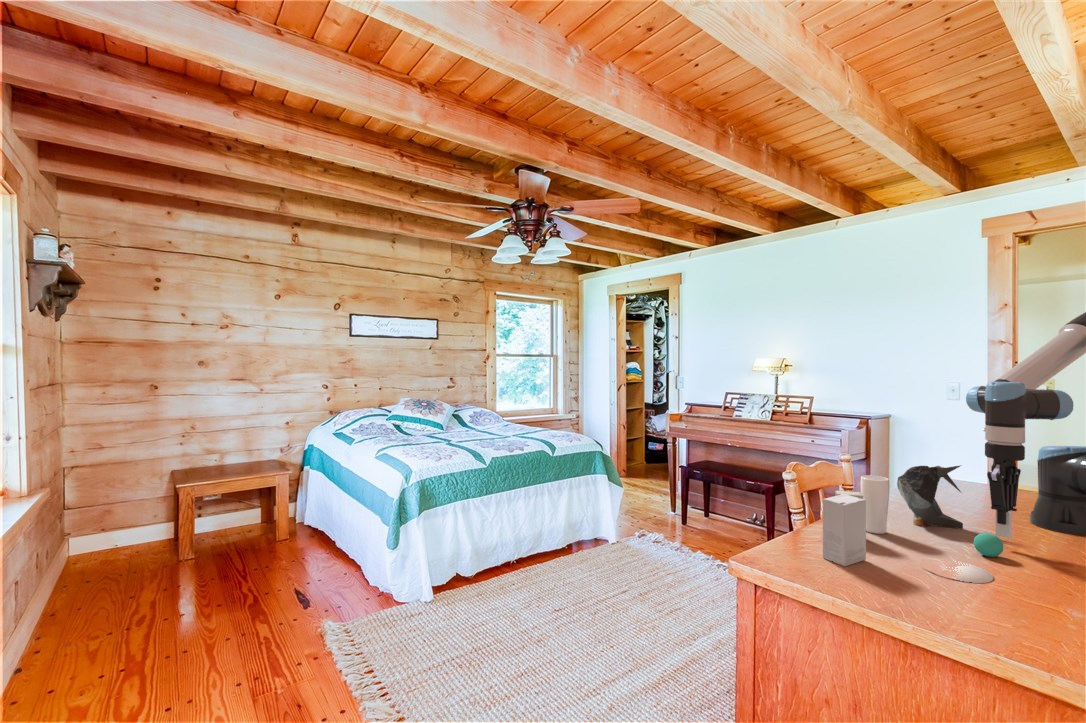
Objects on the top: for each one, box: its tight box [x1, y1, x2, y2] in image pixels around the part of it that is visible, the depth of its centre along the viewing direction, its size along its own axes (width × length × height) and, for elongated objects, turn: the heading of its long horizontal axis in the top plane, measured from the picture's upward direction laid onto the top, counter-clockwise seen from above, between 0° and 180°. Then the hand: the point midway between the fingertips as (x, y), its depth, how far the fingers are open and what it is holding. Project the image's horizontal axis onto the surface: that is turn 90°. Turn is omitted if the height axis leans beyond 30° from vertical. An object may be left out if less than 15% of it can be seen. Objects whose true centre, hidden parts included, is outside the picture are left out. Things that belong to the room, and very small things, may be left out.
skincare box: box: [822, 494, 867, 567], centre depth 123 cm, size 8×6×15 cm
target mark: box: [946, 560, 994, 584], centre depth 116 cm, size 13×13×1 cm
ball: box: [973, 532, 1004, 558], centre depth 125 cm, size 6×6×6 cm
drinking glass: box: [860, 474, 890, 535], centre depth 143 cm, size 7×7×15 cm
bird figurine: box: [896, 465, 964, 530], centre depth 149 cm, size 14×15×18 cm
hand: (1003, 536), depth 129 cm, fingers closed
